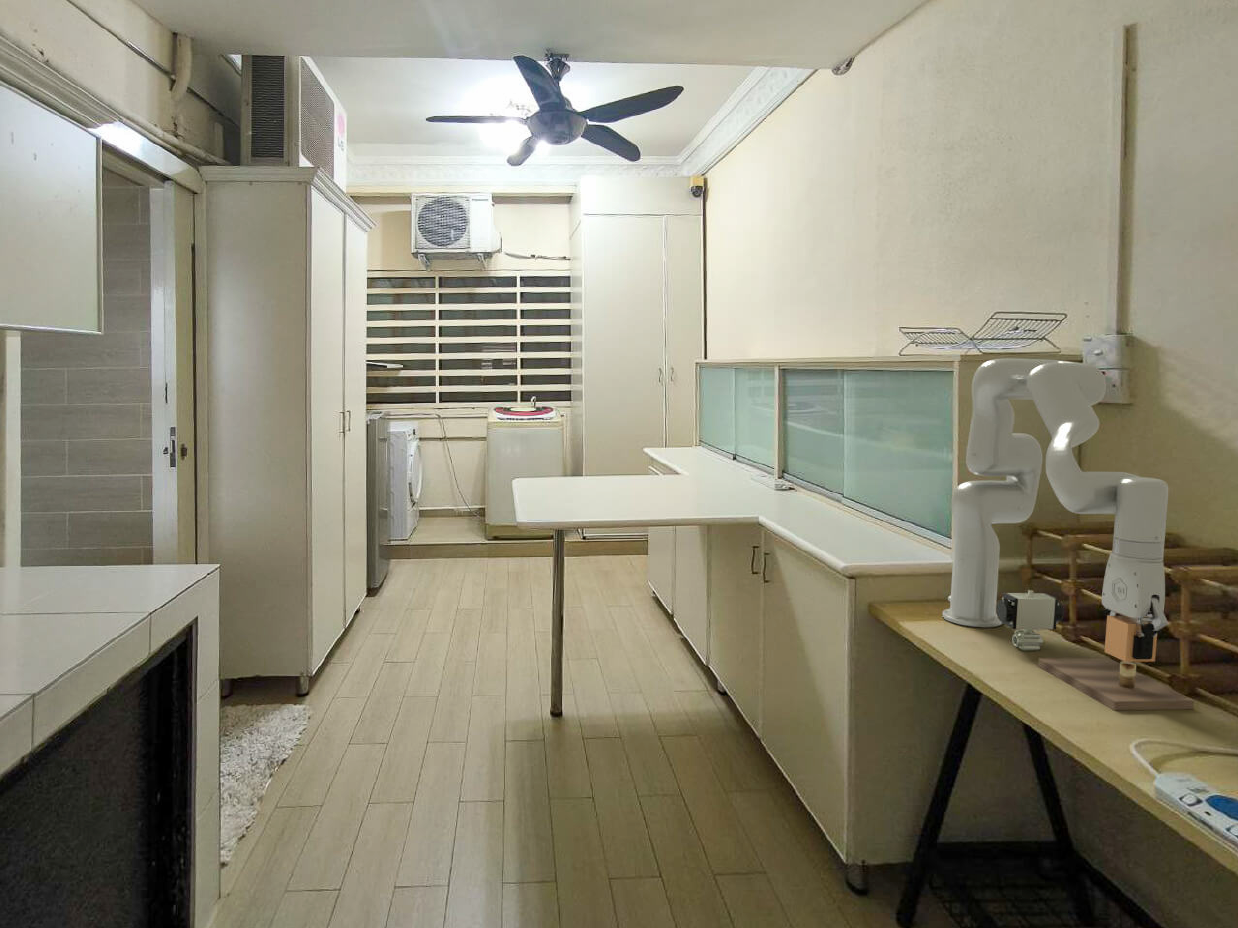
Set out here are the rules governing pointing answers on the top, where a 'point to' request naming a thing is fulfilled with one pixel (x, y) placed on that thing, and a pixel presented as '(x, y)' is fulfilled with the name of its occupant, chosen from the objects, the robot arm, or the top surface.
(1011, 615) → the pneumatic valve
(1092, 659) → the brown wooden board
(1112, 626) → the peach foam cube
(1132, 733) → the top surface
